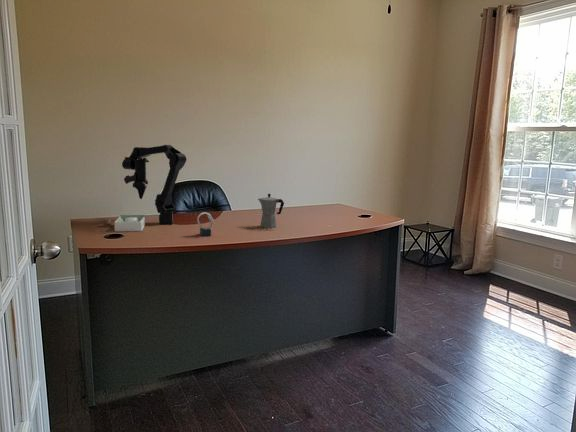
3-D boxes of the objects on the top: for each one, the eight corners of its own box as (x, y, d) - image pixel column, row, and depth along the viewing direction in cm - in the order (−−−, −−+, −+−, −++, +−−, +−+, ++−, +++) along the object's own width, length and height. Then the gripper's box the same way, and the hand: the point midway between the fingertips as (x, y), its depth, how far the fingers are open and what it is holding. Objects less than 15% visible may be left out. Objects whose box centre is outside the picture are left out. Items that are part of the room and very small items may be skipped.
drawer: (145, 222, 238) (144, 214, 238) (141, 228, 223) (141, 220, 222) (120, 222, 236) (120, 214, 235) (115, 228, 221) (114, 220, 220)
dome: (135, 220, 236) (135, 216, 236) (139, 222, 231) (139, 218, 231) (123, 221, 232) (123, 217, 232) (127, 223, 228) (127, 219, 227)
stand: (111, 225, 233) (111, 218, 232) (110, 227, 229) (110, 220, 229) (103, 225, 232) (103, 218, 232) (102, 227, 228) (101, 220, 228)
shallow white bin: (144, 225, 237) (144, 216, 237) (141, 231, 222) (141, 222, 221) (119, 225, 235) (119, 216, 234) (114, 231, 219) (114, 222, 219)
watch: (214, 235, 217) (215, 213, 216) (198, 236, 215) (198, 213, 213) (212, 233, 223) (212, 211, 221) (196, 234, 220) (196, 211, 218)
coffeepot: (253, 226, 244) (254, 193, 241) (261, 223, 252) (262, 191, 249) (279, 229, 238) (280, 195, 235) (286, 226, 246) (287, 194, 243)
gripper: (127, 168, 253) (127, 196, 255) (122, 171, 235) (122, 201, 237) (147, 169, 255) (148, 196, 258) (144, 171, 237) (145, 201, 240)
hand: (140, 198), depth 248 cm, fingers closed
